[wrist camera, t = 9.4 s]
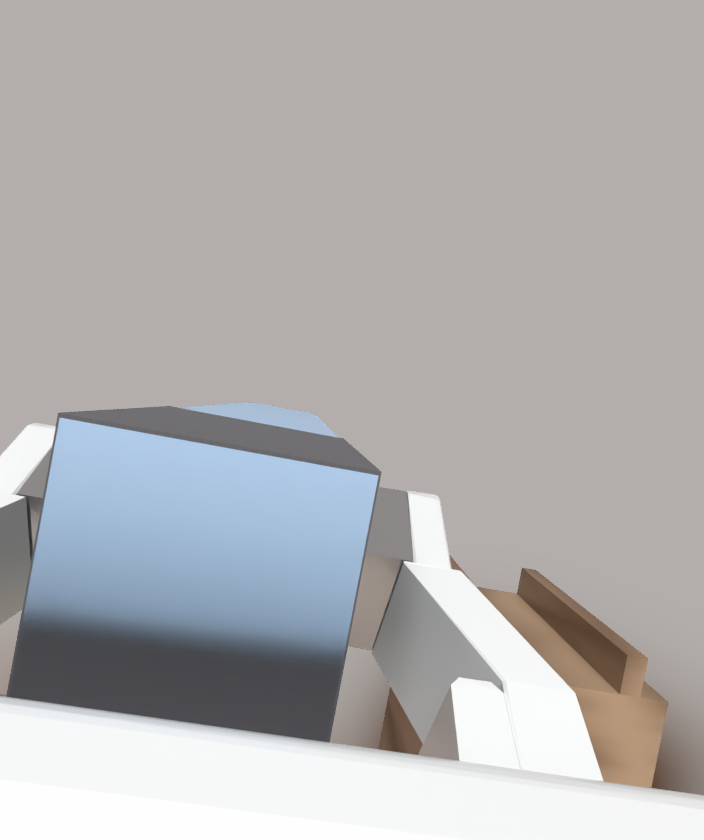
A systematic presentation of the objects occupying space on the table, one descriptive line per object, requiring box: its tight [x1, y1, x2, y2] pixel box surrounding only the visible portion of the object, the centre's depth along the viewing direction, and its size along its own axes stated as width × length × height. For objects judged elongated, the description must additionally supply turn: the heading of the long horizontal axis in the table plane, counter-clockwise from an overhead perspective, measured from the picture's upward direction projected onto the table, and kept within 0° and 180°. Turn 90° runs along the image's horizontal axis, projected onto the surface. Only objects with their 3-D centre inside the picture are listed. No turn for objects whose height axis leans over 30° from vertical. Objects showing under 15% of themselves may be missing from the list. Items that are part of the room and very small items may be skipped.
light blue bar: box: [6, 402, 381, 742], centre depth 18 cm, size 3×24×3 cm, turn 4°
